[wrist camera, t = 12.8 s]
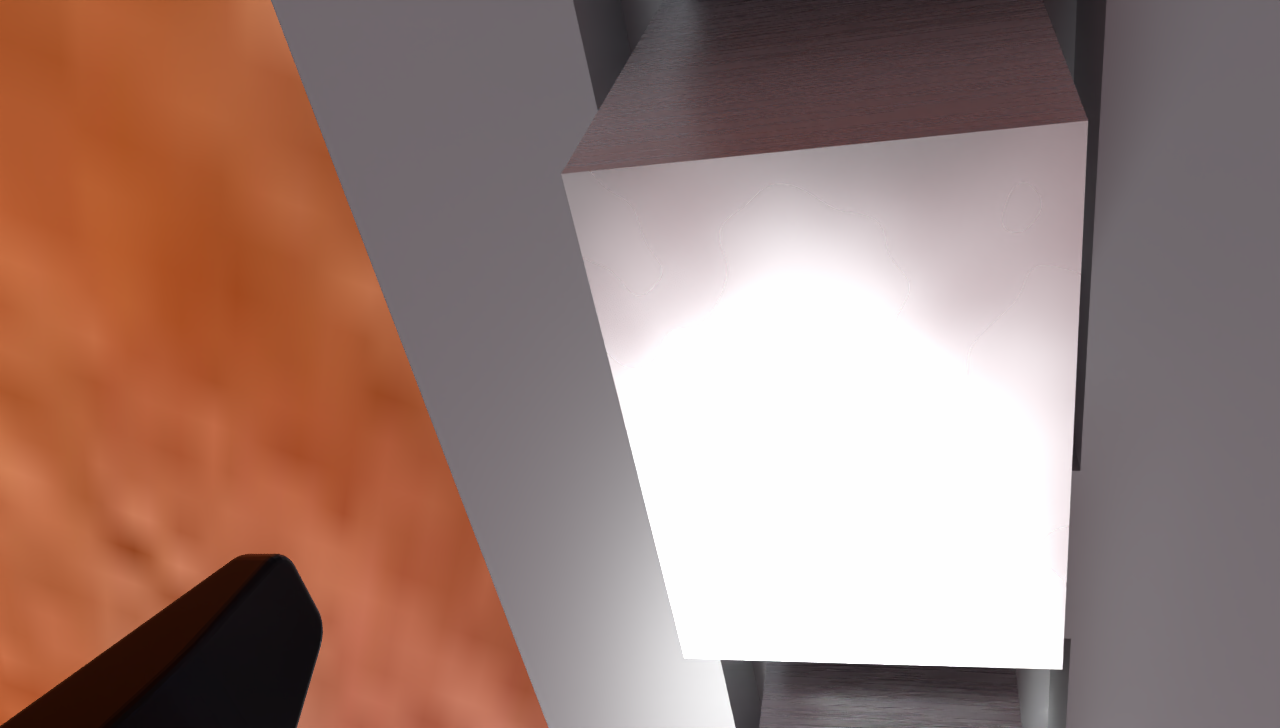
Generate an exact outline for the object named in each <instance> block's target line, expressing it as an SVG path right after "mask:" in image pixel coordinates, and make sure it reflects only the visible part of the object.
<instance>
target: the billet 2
mask: <svg viewBox="0 0 1280 728" xmlns="http://www.w3.org/2000/svg"><path fill="white" fill-rule="evenodd" d="M759 728H1022V723H1021V715H1020V706H1019V697H1018V688H1017V680H1016V671H1015V668H997V667H964V666H932V665H899V664H866V663H833V662H800V661H768V660H767V666H766V674H765V683H764V691H763V699H762V708H761V716H760V724H759Z"/></svg>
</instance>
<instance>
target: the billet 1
mask: <svg viewBox="0 0 1280 728" xmlns="http://www.w3.org/2000/svg"><path fill="white" fill-rule="evenodd" d="M1087 135H1088V119H1087V116H1086V114H1085V111H1084V108H1083V106H1082V103H1081V100H1080V98H1079V95H1078V92H1077V90H1076V87H1075V85H1074V82H1073V79H1072V77H1071V74H1070V71H1069V69H1068V66H1067V64H1066V61H1065V58H1064V56H1063V53H1062V50H1061V48H1060V45H1059V42H1058V40H1057V37H1056V35H1055V32H1054V29H1053V27H1052V24H1051V21H1050V19H1049V16H1048V13H1047V11H1046V8H1045V6H1044V3H1043V0H663V1H662V3H661V5H660V6H659V8H658V10H657V11H656V13H655V15H654V17H653V18H652V20H651V22H650V23H649V25H648V27H647V28H646V30H645V32H644V34H643V35H642V37H641V39H640V40H639V42H638V44H637V46H636V47H635V49H634V51H633V52H632V54H631V56H630V57H629V59H628V61H627V63H626V64H625V66H624V68H623V69H622V71H621V73H620V75H619V76H618V78H617V80H616V81H615V83H614V85H613V86H612V88H611V90H610V92H609V93H608V95H607V97H606V98H605V100H604V102H603V104H602V105H601V107H600V109H599V110H598V112H597V114H596V115H595V117H594V119H593V121H592V122H591V124H590V126H589V127H588V129H587V131H586V133H585V134H584V136H583V138H582V139H581V141H580V143H579V144H578V146H577V148H576V150H575V151H574V153H573V155H572V156H571V158H570V160H569V162H568V163H567V165H566V167H565V168H564V170H563V172H562V173H561V175H562V179H563V183H564V187H565V191H566V195H567V199H568V203H569V206H570V210H571V214H572V218H573V222H574V226H575V230H576V234H577V238H578V242H579V246H580V250H581V254H582V257H583V261H584V265H585V269H586V273H587V277H588V281H589V285H590V289H591V293H592V297H593V301H594V305H595V308H596V312H597V316H598V320H599V324H600V328H601V332H602V336H603V340H604V344H605V348H606V352H607V356H608V359H609V363H610V367H611V371H612V375H613V379H614V383H615V387H616V391H617V395H618V399H619V403H620V407H621V410H622V414H623V418H624V422H625V426H626V430H627V434H628V438H629V442H630V446H631V450H632V454H633V458H634V461H635V465H636V469H637V473H638V477H639V481H640V485H641V489H642V493H643V497H644V501H645V505H646V509H647V512H648V516H649V520H650V524H651V528H652V532H653V536H654V540H655V544H656V548H657V552H658V556H659V560H660V563H661V567H662V571H663V575H664V579H665V583H666V587H667V591H668V595H669V599H670V603H671V607H672V610H673V614H674V618H675V622H676V626H677V630H678V634H679V638H680V642H681V646H682V650H683V654H684V658H702V659H735V660H768V661H800V662H833V663H866V664H899V665H932V666H964V667H997V668H1030V669H1062V668H1063V646H1064V625H1065V604H1066V582H1067V561H1068V540H1069V518H1070V497H1071V476H1072V455H1073V433H1074V412H1075V391H1076V369H1077V348H1078V327H1079V305H1080V284H1081V263H1082V241H1083V220H1084V199H1085V177H1086V156H1087Z"/></svg>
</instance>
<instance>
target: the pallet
mask: <svg viewBox="0 0 1280 728" xmlns="http://www.w3.org/2000/svg"><path fill="white" fill-rule="evenodd" d="M662 1H663V0H271V2H272V4H273V7H274V9H275V12H276V15H277V17H278V20H279V22H280V25H281V28H282V30H283V33H284V36H285V38H286V41H287V43H288V46H289V49H290V51H291V54H292V57H293V59H294V62H295V64H296V67H297V70H298V72H299V75H300V78H301V80H302V83H303V85H304V88H305V91H306V93H307V96H308V98H309V101H310V104H311V106H312V109H313V112H314V114H315V117H316V119H317V122H318V125H319V127H320V130H321V133H322V135H323V138H324V140H325V143H326V146H327V148H328V151H329V153H330V156H331V159H332V161H333V164H334V167H335V169H336V172H337V174H338V177H339V180H340V182H341V185H342V188H343V190H344V193H345V195H346V198H347V201H348V203H349V206H350V209H351V211H352V214H353V216H354V219H355V222H356V224H357V227H358V229H359V232H360V235H361V237H362V240H363V243H364V245H365V248H366V250H367V253H368V256H369V258H370V261H371V264H372V266H373V269H374V271H375V274H376V277H377V279H378V282H379V284H380V287H381V290H382V292H383V295H384V298H385V300H386V303H387V305H388V308H389V311H390V313H391V316H392V319H393V321H394V324H395V326H396V329H397V332H398V334H399V337H400V340H401V342H402V345H403V347H404V350H405V353H406V355H407V358H408V360H409V363H410V366H411V368H412V371H413V374H414V376H415V379H416V381H417V384H418V387H419V389H420V392H421V395H422V397H423V400H424V402H425V405H426V408H427V410H428V413H429V415H430V418H431V421H432V423H433V426H434V429H435V431H436V434H437V436H438V439H439V442H440V444H441V447H442V450H443V452H444V455H445V457H446V460H447V463H448V465H449V468H450V471H451V473H452V476H453V478H454V481H455V484H456V486H457V489H458V491H459V494H460V497H461V499H462V502H463V505H464V507H465V510H466V512H467V515H468V518H469V520H470V523H471V526H472V528H473V531H474V533H475V536H476V539H477V541H478V544H479V546H480V549H481V552H482V554H483V557H484V560H485V562H486V565H487V567H488V570H489V573H490V575H491V578H492V581H493V583H494V586H495V588H496V591H497V594H498V596H499V599H500V602H501V604H502V607H503V609H504V612H505V615H506V617H507V620H508V622H509V625H510V628H511V630H512V633H513V636H514V638H515V641H516V643H517V646H518V649H519V651H520V654H521V657H522V659H523V662H524V664H525V667H526V670H527V672H528V675H529V677H530V680H531V683H532V685H533V688H534V691H535V693H536V696H537V698H538V701H539V704H540V706H541V709H542V712H543V714H544V717H545V719H546V722H547V725H548V727H549V728H759V724H760V716H761V708H762V699H763V691H764V683H765V674H766V666H767V660H735V659H702V658H684V654H683V650H682V646H681V642H680V638H679V634H678V630H677V626H676V622H675V618H674V614H673V610H672V607H671V603H670V599H669V595H668V591H667V587H666V583H665V579H664V575H663V571H662V567H661V563H660V560H659V556H658V552H657V548H656V544H655V540H654V536H653V532H652V528H651V524H650V520H649V516H648V512H647V509H646V505H645V501H644V497H643V493H642V489H641V485H640V481H639V477H638V473H637V469H636V465H635V461H634V458H633V454H632V450H631V446H630V442H629V438H628V434H627V430H626V426H625V422H624V418H623V414H622V410H621V407H620V403H619V399H618V395H617V391H616V387H615V383H614V379H613V375H612V371H611V367H610V363H609V359H608V356H607V352H606V348H605V344H604V340H603V336H602V332H601V328H600V324H599V320H598V316H597V312H596V308H595V305H594V301H593V297H592V293H591V289H590V285H589V281H588V277H587V273H586V269H585V265H584V261H583V257H582V254H581V250H580V246H579V242H578V238H577V234H576V230H575V226H574V222H573V218H572V214H571V210H570V206H569V203H568V199H567V195H566V191H565V187H564V183H563V179H562V175H561V173H562V172H563V170H564V168H565V167H566V165H567V163H568V162H569V160H570V158H571V156H572V155H573V153H574V151H575V150H576V148H577V146H578V144H579V143H580V141H581V139H582V138H583V136H584V134H585V133H586V131H587V129H588V127H589V126H590V124H591V122H592V121H593V119H594V117H595V115H596V114H597V112H598V110H599V109H600V107H601V105H602V104H603V102H604V100H605V98H606V97H607V95H608V93H609V92H610V90H611V88H612V86H613V85H614V83H615V81H616V80H617V78H618V76H619V75H620V73H621V71H622V69H623V68H624V66H625V64H626V63H627V61H628V59H629V57H630V56H631V54H632V52H633V51H634V49H635V47H636V46H637V44H638V42H639V40H640V39H641V37H642V35H643V34H644V32H645V30H646V28H647V27H648V25H649V23H650V22H651V20H652V18H653V17H654V15H655V13H656V11H657V10H658V8H659V6H660V5H661V3H662ZM1043 3H1044V6H1045V8H1046V11H1047V13H1048V16H1049V19H1050V21H1051V24H1052V27H1053V29H1054V32H1055V35H1056V37H1057V40H1058V42H1059V45H1060V48H1061V50H1062V53H1063V56H1064V58H1065V61H1066V64H1067V66H1068V69H1069V71H1070V74H1071V77H1072V79H1073V82H1074V85H1075V87H1076V90H1077V92H1078V95H1079V98H1080V100H1081V103H1082V106H1083V108H1084V111H1085V114H1086V116H1087V119H1088V135H1087V156H1086V177H1085V199H1084V220H1083V241H1082V263H1081V284H1080V305H1079V327H1078V348H1077V369H1076V391H1075V412H1074V433H1073V455H1072V476H1071V497H1070V518H1069V540H1068V561H1067V582H1066V604H1065V625H1064V646H1063V668H1062V669H1030V668H1015V671H1016V680H1017V688H1018V697H1019V706H1020V715H1021V723H1022V728H1280V0H1043Z"/></svg>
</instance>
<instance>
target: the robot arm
mask: <svg viewBox="0 0 1280 728" xmlns="http://www.w3.org/2000/svg"><path fill="white" fill-rule="evenodd" d="M322 634H323V627H322V620H321V616H320V613H319V611H318V609H317V607H316V605H315V603H314V601H313V600H312V598H311V596H310V594H309V592H308V590H307V588H306V586H305V584H304V583H303V581H302V579H301V577H300V575H299V573H298V571H297V569H296V567H295V566H294V564H293V563H292V561H291V560H290V559H288V558H287V557H286V556H284V555H280V554H245V555H241V556H238V557H236V558H235V559H233V560H232V561H230V562H229V563H227V564H226V565H225V566H223V567H222V568H220V569H219V570H218V571H216V572H215V573H213V574H212V575H211V576H209V577H208V578H206V579H205V580H204V581H202V582H201V583H199V584H198V585H197V586H195V587H194V588H192V589H191V590H190V591H188V592H187V593H185V594H184V595H183V596H181V597H180V598H178V599H177V600H176V601H174V602H173V603H172V604H170V605H169V606H167V607H166V608H165V609H163V610H162V611H160V612H159V613H158V614H156V615H155V616H153V617H152V618H151V619H149V620H148V621H146V622H145V623H144V624H142V625H141V626H139V627H138V628H137V629H135V630H134V631H132V632H131V633H130V634H128V635H127V636H125V637H124V638H123V639H121V640H120V641H118V642H117V643H116V644H114V645H113V646H111V647H110V648H109V649H107V650H106V651H104V652H103V653H102V654H100V655H99V656H97V657H96V658H95V659H93V660H92V661H91V662H89V663H88V664H86V665H85V666H84V667H82V668H81V669H79V670H78V671H77V672H75V673H74V674H72V675H71V676H70V677H68V678H67V679H65V680H64V681H63V682H61V683H60V684H58V685H57V686H56V687H54V688H53V689H51V690H50V691H49V692H47V693H46V694H44V695H43V696H42V697H40V698H39V699H37V700H36V701H35V702H33V703H32V704H30V705H29V706H28V707H26V708H25V709H23V710H22V711H21V712H19V713H18V714H16V715H15V716H14V717H12V718H11V719H9V720H8V721H7V722H5V723H4V724H3V725H1V726H0V728H297V725H298V722H299V718H300V715H301V711H302V708H303V705H304V701H305V698H306V694H307V691H308V688H309V684H310V681H311V677H312V674H313V671H314V667H315V664H316V660H317V657H318V653H319V650H320V647H321V642H322Z"/></svg>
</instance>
